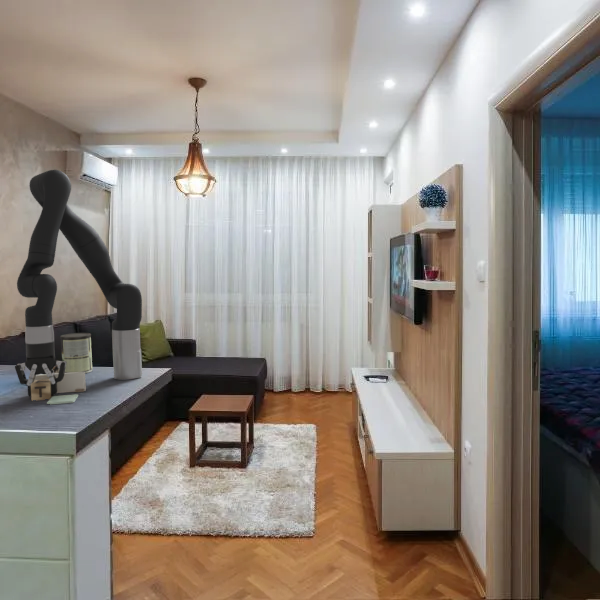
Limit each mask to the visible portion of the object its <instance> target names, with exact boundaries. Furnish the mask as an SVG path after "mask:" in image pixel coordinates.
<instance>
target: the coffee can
mask: <svg viewBox="0 0 600 600" xmlns="http://www.w3.org/2000/svg"><path fill="white" fill-rule="evenodd" d="M91 336H92V334H91V333H89V332H75V333H74V332H73V333H67V334H66V333H65V334H62V335H60V343H61V344H60V345H61V361H66V362H67V364H66V369H65V373H70V372H85V374H88V373H91V372H92V371H93V362H92V361H93V357H92V356H93V355H92V338H91Z"/></svg>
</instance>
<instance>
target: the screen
mask: <svg viewBox="0 0 600 600" xmlns="http://www.w3.org/2000/svg"><path fill="white" fill-rule="evenodd" d="M58 374H59V373H55V376H56V378H57V377H58ZM46 379H49V378H48V377H47V375H46V374H39V375H36V377H35V380H46ZM35 380H34V381H35ZM86 391H87V387H86V373H85V372H70V373H64V378H63V380H62V381H60V382H57V393H56V394H63V393H64V394H65V393H84V392H86Z"/></svg>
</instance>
